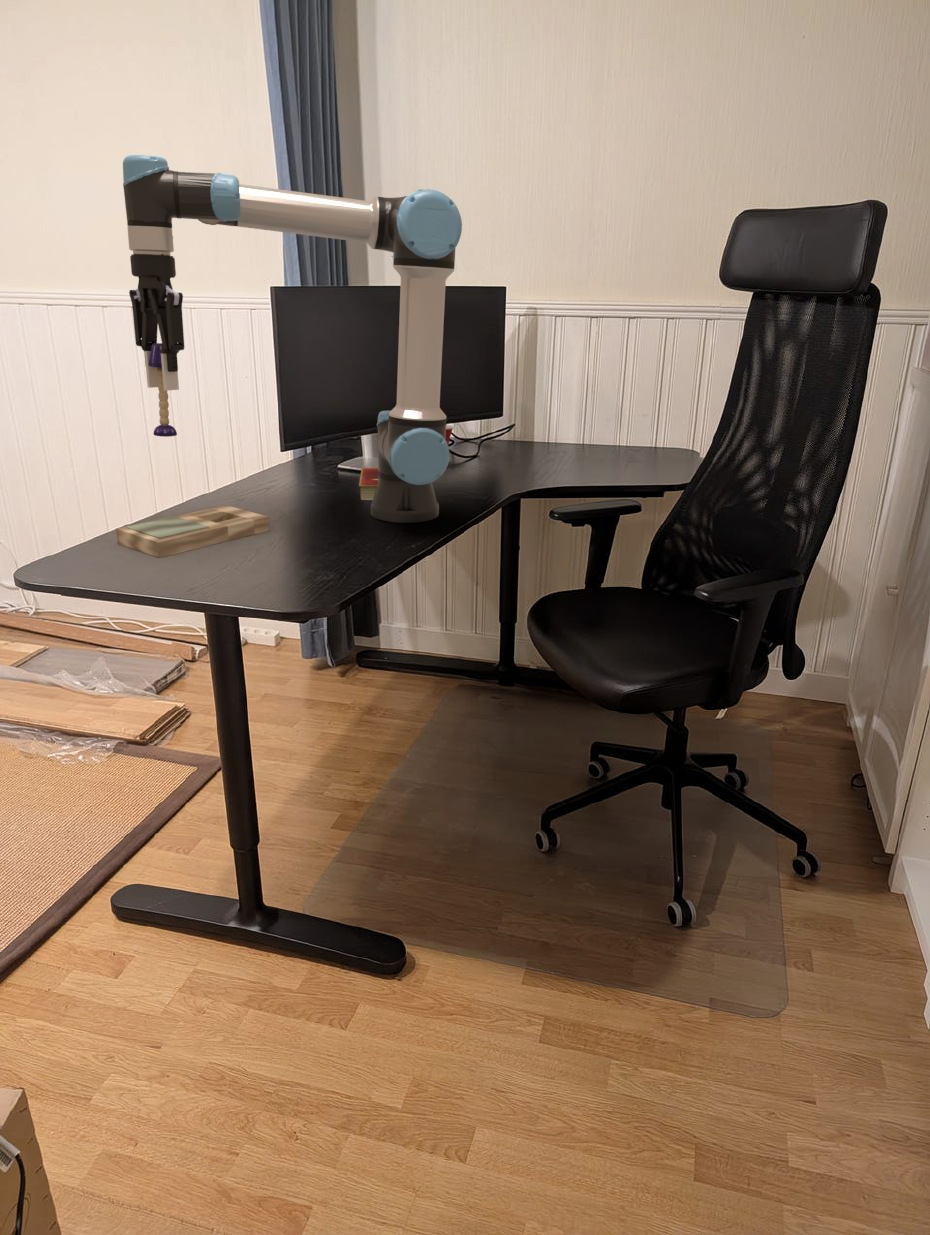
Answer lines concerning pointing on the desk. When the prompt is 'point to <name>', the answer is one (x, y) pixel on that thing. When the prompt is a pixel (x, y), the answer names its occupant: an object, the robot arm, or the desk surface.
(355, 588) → the desk surface
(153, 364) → the toy lamp
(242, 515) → the light wooden flat block
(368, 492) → the hardcover book
